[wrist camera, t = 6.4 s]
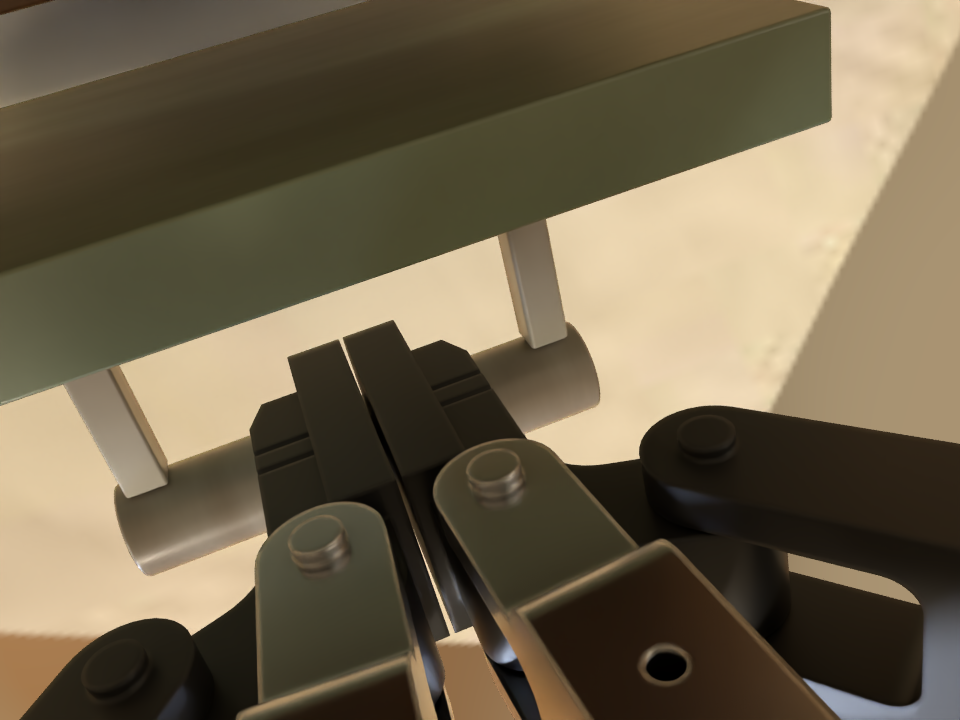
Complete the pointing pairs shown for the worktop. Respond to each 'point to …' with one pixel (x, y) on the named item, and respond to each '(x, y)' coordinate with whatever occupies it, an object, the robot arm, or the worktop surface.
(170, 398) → the worktop surface
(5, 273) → the drawer
